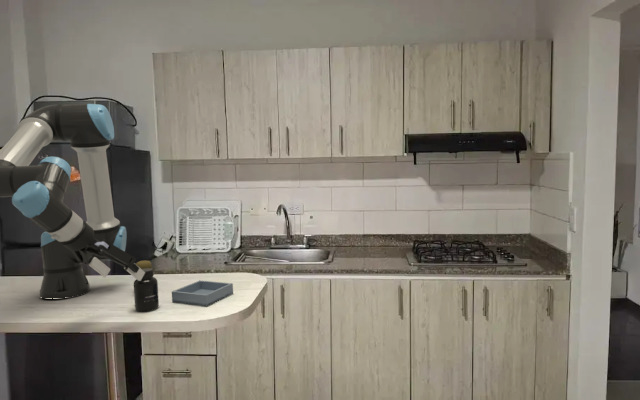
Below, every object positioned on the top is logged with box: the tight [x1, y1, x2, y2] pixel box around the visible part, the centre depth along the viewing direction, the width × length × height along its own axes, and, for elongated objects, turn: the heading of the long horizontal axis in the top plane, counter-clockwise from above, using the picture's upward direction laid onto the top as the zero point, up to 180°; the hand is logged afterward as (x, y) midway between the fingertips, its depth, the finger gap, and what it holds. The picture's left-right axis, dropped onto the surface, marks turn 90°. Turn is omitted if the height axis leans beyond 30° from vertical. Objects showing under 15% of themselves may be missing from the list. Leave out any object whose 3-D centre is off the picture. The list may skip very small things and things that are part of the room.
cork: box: [135, 260, 152, 269], centre depth 154 cm, size 6×6×11 cm
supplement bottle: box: [133, 268, 160, 313], centre depth 136 cm, size 7×7×12 cm
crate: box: [171, 280, 234, 308], centre depth 145 cm, size 14×14×4 cm
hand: (124, 274), depth 128 cm, fingers open, 13 cm apart
